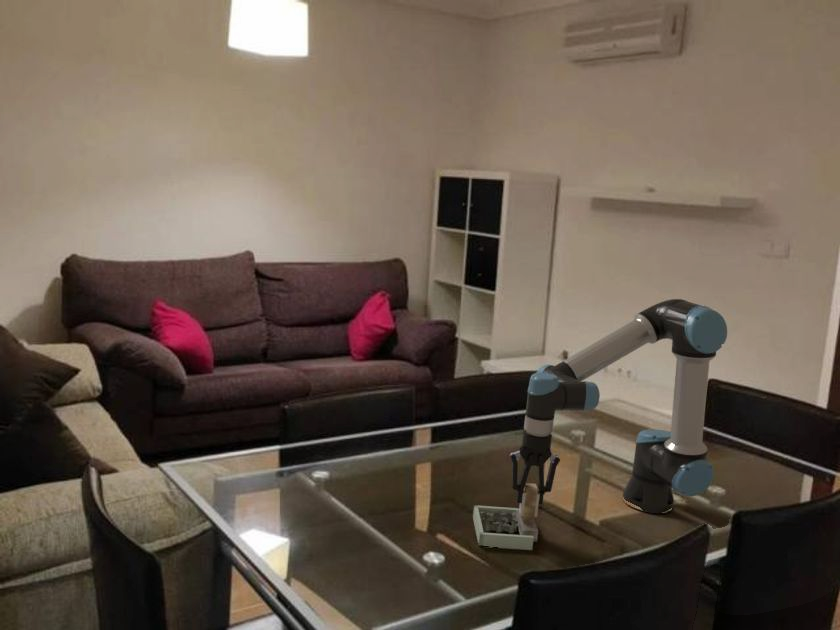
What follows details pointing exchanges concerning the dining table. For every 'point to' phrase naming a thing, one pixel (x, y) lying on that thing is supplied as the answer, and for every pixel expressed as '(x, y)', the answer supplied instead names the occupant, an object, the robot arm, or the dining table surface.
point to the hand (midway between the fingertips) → (527, 514)
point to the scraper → (528, 513)
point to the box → (500, 539)
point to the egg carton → (502, 518)
